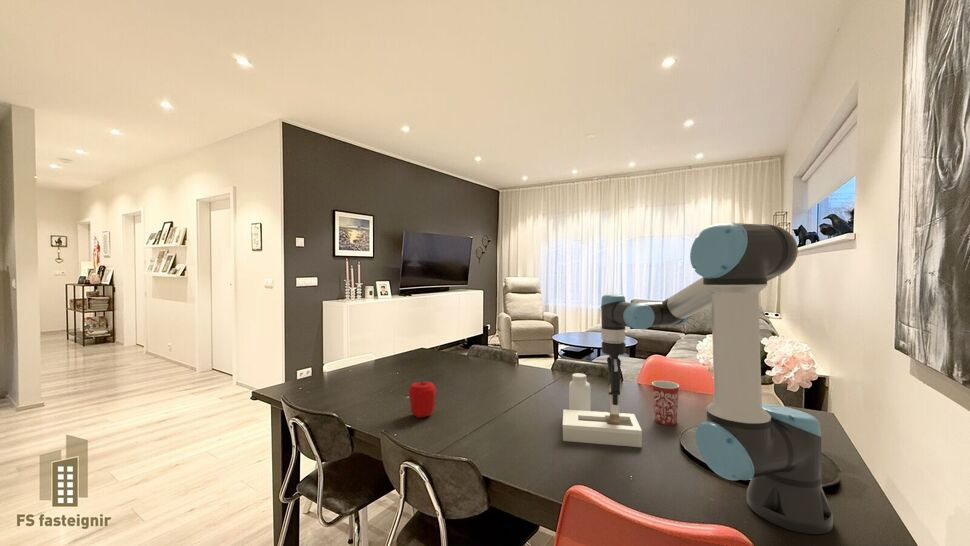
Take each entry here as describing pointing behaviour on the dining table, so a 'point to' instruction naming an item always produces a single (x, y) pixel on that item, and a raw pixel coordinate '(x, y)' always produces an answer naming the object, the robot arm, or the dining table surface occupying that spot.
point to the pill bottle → (579, 393)
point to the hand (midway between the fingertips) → (614, 411)
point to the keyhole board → (601, 428)
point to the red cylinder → (422, 398)
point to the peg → (613, 417)
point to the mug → (665, 401)
